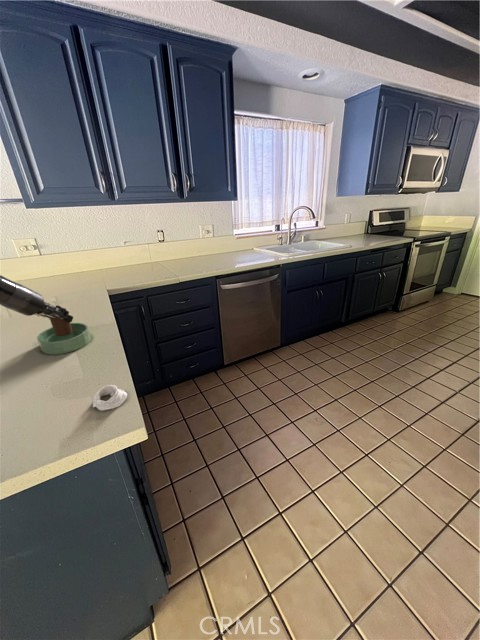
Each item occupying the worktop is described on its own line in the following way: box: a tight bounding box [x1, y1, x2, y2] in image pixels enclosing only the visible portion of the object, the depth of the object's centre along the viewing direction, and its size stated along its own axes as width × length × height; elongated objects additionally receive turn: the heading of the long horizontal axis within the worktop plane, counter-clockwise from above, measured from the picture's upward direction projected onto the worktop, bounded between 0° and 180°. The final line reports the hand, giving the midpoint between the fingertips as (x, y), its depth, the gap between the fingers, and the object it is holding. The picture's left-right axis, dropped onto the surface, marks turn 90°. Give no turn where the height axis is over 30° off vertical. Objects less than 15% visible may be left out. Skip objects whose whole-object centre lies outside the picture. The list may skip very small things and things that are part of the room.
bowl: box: [36, 322, 92, 355], centre depth 94 cm, size 15×15×5 cm
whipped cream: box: [92, 384, 128, 411], centre depth 67 cm, size 8×7×5 cm
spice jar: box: [48, 307, 73, 336], centre depth 91 cm, size 5×5×8 cm
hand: (64, 318), depth 93 cm, fingers closed on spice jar, 5 cm apart
